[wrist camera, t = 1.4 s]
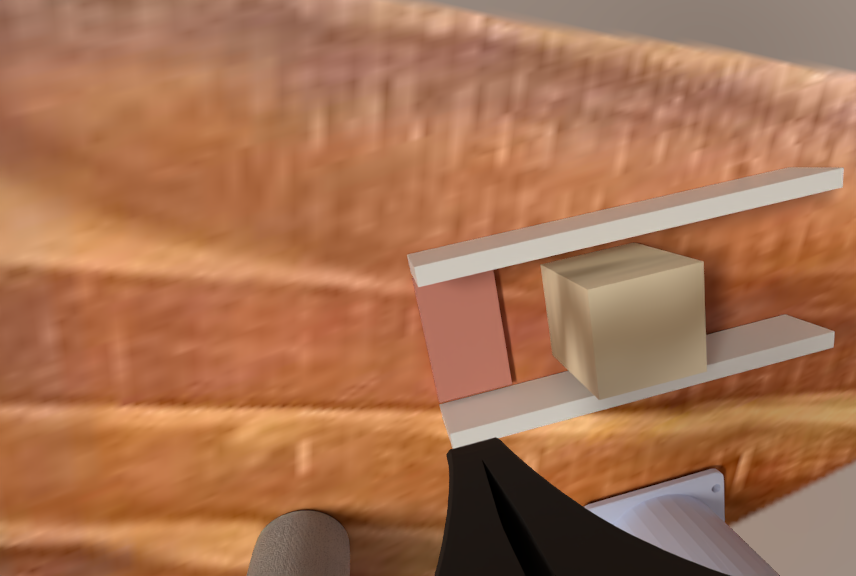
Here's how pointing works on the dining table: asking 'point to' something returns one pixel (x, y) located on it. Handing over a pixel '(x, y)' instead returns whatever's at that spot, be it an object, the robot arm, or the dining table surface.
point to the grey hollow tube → (301, 547)
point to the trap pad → (464, 335)
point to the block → (626, 317)
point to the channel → (563, 390)
